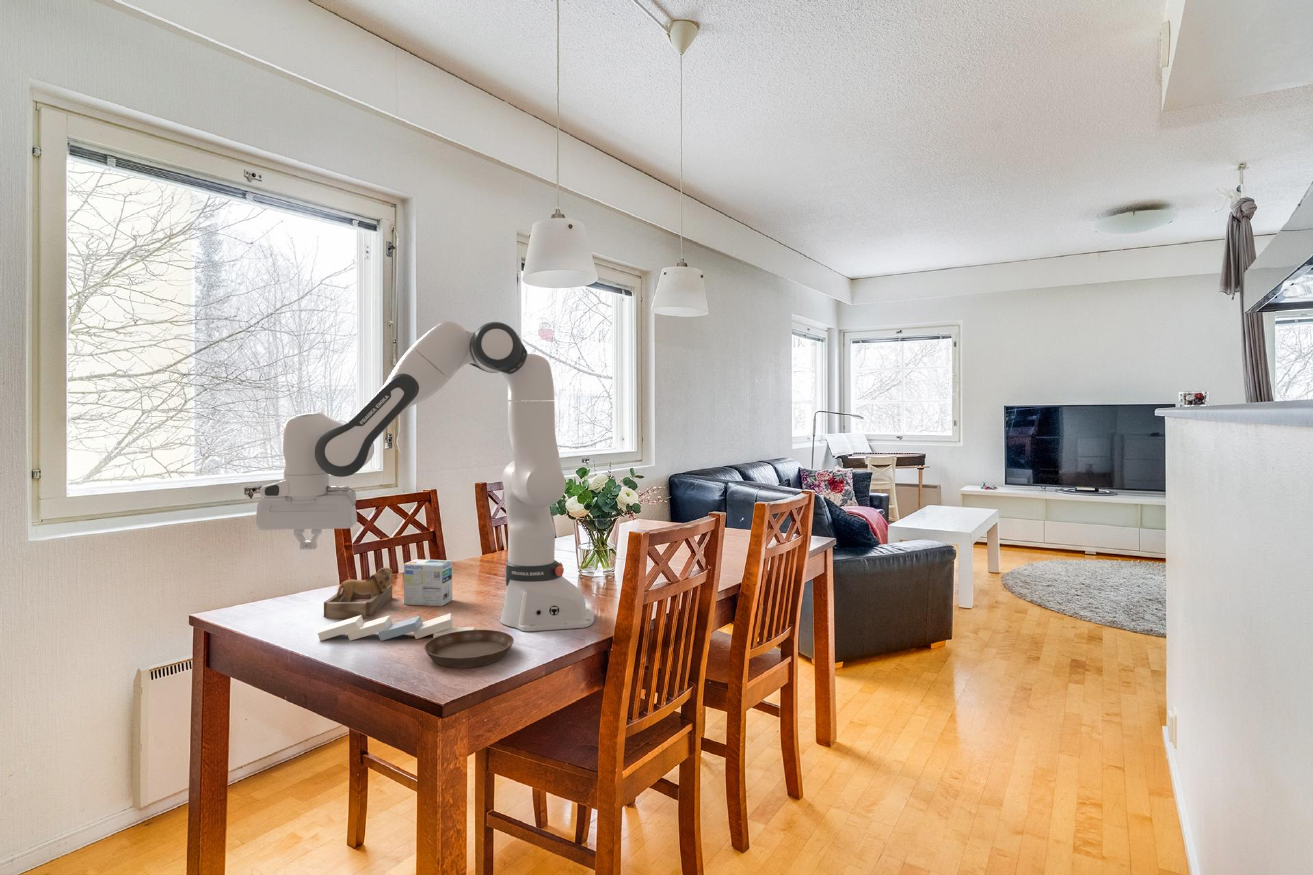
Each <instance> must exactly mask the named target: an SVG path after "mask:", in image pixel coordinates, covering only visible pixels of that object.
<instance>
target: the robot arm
mask: <svg viewBox="0 0 1313 875" xmlns="http://www.w3.org/2000/svg"><path fill="white" fill-rule="evenodd" d="M466 365H471V366H473V367H475V368H477V369H479V370H480V371H483V372H486V373H490V374H498V373H500V374H501V375H502V376H503V378H504V379H505V381H506V387H507V431H508V432H507V433H508V437H509V440H510V445H511V450H512V454H513V460H512V461H510V462H509V463H508V464H507V465H506V466H505V467H504V468H503V471H502V474H501V482H502V486H503V496H504V506H505V511H506V512H505V514H506V520H507V522H506V523H507V531H508V532H507V538H508V539H507V560H506V564H505V585H506V591H505V598H504V604H503V609H502V613H501V617H500V619H499V621H500V622H501V624H503V625H505V626H508V627H512V628H515V629H517V630H520V631H522V632H537V631H552V630H565V629H566V630H568V629H578V628H579V629H582V628H588V627H589V626H591V625H593V624H594V622H595V619H596V618H595V612H594V611H593V610H592V609H590V608H588V607H587V606H586V600H585V597H584V594H583V592H582V590H581V589H580V588H579V587H578V586H576V585H574V584H573V583H572V582H570V581H569V580H568V579H567V578H566V577H564V576H563V574H564V571H565V568H564V565H563V564H562V562H561V561H560V562H559V561H557V560H556V559H555V554H556V553H555V546H556V545H555V542H556V538H555V537H556V536H555V535H556V530H555V529H556V528H555V524H554V522H553V518H552V513H551V506H553V505H555V504H557V503H558V502H559V501H560V500H561V499H562V498H563V496H564V494H565V491H566V487H567V483H566V481H567V480H566V478H565V474H564V473H563V470H562V467H561V466H562V465H561V459H560V458H561V457H560V453H559V448H558V442H557V436H556V435H557V434H556V417H555V416H556V412H555V410H556V408H555V407H556V406H555V405H556V404H555V387H554V386H555V385H554V381H553V380H554V379H553V378H554V377H553V373H552V372H553V371H552V369H551V365H550V362H549V361H548V360H547V359H546V358H545V357H543V356H541V355H539V354H533V353H528V350H527V349H526V347H525V345H524V343H523V341H522V340H521V338H520V337H519V335H518V334H517V332H516V331H515V330H514V328H512V327H511V326H510V325H508V324H506V323H503V322H500V321H499V322H498V321H491V322H487V323H484V324H483V325H481V326H480V327H479V328H478V329H477V330H476V331H473V332H472V331H468V330H466V329H465V328H464V327H463V326H462V325H460V324H458V323H456V322H453V321H449V320H444V321H441V322H439V323H437V324H436V325H435V326H433V327H432V328H431V329H430V330H428V331H426V332H425V333H424V334H423V335H422V336H421V337H420V338H419V339H417V341H415V342H414V344H412V346H411V347H409V349H408V350H407V351H406V352H404V354H403V356H402V357H401V358H400V359H399V360H398V362H397V363H396V365H395V367H394V368H393V369H392V371H391V373H390V374H389V376H388V378H387V379H386V381H385V382H384V384H383V385H382V387H381V388H380V390H379V391H377V392H376V393H375V395H374V396H373V397H372V398H371V399H370V400H369V401H368V402H367V403H366V404H365V405H364V406H363V408H361V409H360V410H359V411H358V412H357V413H356V414H355V415H354V417H352V418H351V419H350V420H349V421H348V422H346V423H345V424H342V423H340V422H338V421H336V420H333V419H331V418H330V417H328V416H327V415H325V414H324V413H321V412H311V413H309V412H308V413H303V414H297V415H293V416H291V417H290V418H288V419H287V421H286V422H285V424H284V429H283V440H282V441H283V442H282V452H283V453H282V454H283V458H284V462H285V463H284V464H285V466H284V470H283V479H282V480H277V481H275V482H274V483H271V484H270V483H269V484H266V485H264V486H262V487H260V488H259V495H260V497H261V498H260V499H259V500H258V502H257V506H256V513H255V517H256V518H255V519H256V520H255V522H256V527H257V528H258V529H259V530H260V531H272V530H273V531H274V530H275V531H277V530H278V531H280V530H281V531H284V530H285V531H286V530H288V531H289V530H293V535H294V537H295V538H296V540H297V541H298V542H299V550H300V551H301V550H302V551H304V550H316V549H317V546H318V544H317V543H318V542H317V541H318V539H319V538H320V536H321V534H322V532H323V530H329V529H330V530H333V529H334V530H335V529H336V530H337V529H338V530H339V529H341V530H343V529H344V530H345V529H351V528H353V527H355V525H356V524H357V522H358V514H357V508H356V503H357V493H356V491H355V490H354V489H352V488H351V487H350V486H348V485H347V486H345V485H344V486H336V485H334V486H333V485H332V486H330V476H333V477H338V478H343V477H348V476H349V477H350V476H352V475H354V474H356V473H358V472H359V471H360V470H361V469H362V468H363V467H364V466H366V465H367V464H369V462H370V461H371V459H372V457H373V455H374V453H375V444H374V442H375V441H376V440H377V439H378V437H379V436H380V435H381V434H382V433H383V432H384V431H385V430H386V429H387V428H388V427H389V426H390V425H391V424H392V423H393V422H394V421H395V419H396V418H397V417H399V415H401V414H402V413H404V412H405V411H406V410H407V409H409V408H411V407H412V406H414V405H416V404H419V403H422V402H423V401H426V400H428V399H430V397H431V396H433V395H434V394H436V393H437V392H438V391H439V390H441V389H442V388H443V387H444V386H445V385H446V384H447V383H448V382H449V381H450V380H451V378H453V377H454V375H455V374H456V373H457V372H458V371H459V370H460V369H461V368H463V367H464V366H466ZM305 530H311V531H310V532H311V535H313V536H312V538H311V539H307V540H306V537H305V535H304V533H305Z"/></svg>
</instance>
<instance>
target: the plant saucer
mask: <svg viewBox="0 0 1313 875" xmlns="http://www.w3.org/2000/svg"><path fill="white" fill-rule="evenodd" d="M514 641H515V640H514V637H513V636H512V635H510V634H509V633H506V632H503V631H499V630H493V629H475V630H466V631H458V632H452V633H448V634H444V635H441V636H438V637H435V638H432V639H430V640H428V641H427V642H426V643H425V644H424V647H423V649H424V651H425V653H426V655H427V656H428V657H429V658H430V659H431V660H432V661H433V662H434V663H436V664H438V665H439V666H442V667H447V668H456V669H457V668H459V669H462V668H463V669H466V668H475V667H482V666H486V665H489V664H492V663H496V662H497V661H499V660H501V659H503V657H505V655H506V654H507V653H508V651H510V649H511V648H512V645H513V644H514Z"/></svg>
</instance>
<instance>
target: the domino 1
mask: <svg viewBox="0 0 1313 875" xmlns="http://www.w3.org/2000/svg"><path fill="white" fill-rule="evenodd" d="M363 623H365V622H364V619H363V618H362V615H360V616H357V617H353V618H346V619H343V620H341V621H337V622H333V623H330V624H328V625H324V626H323V627H322V628H321V629H320V630H318V632H317V635H318V639H319V641H321V642H322V641H325V640H328V639H331V638H335V637H337V636H340V635H344V634H347V633H348V632H351V631H354V630H358V629H359V628H360V626H361V625H362V624H363Z"/></svg>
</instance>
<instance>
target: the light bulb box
mask: <svg viewBox="0 0 1313 875" xmlns="http://www.w3.org/2000/svg"><path fill="white" fill-rule="evenodd" d="M452 600H453V560H452V559H451V560H449V559H448V560H447V559H445V560H444V559H443V560H442V559H420V558H419V559H418V558H416V559H415V558H414V559H413V560H411V561H408V562H405V563H404V564H403V605H405V606H406V605H412V606H427V607H428V606H430V607H443V606H445V605H447V604H448V603H450V602H451V601H452Z"/></svg>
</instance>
